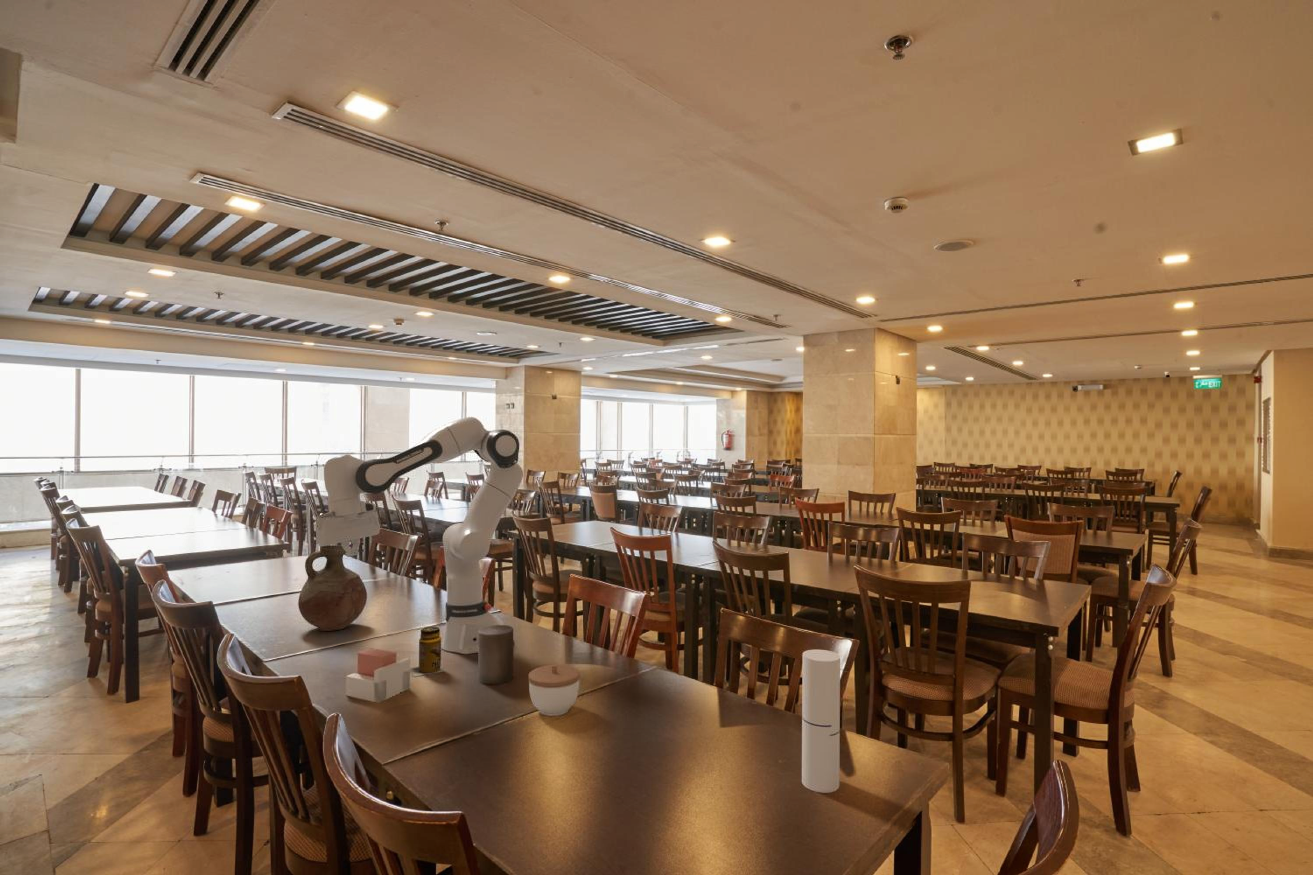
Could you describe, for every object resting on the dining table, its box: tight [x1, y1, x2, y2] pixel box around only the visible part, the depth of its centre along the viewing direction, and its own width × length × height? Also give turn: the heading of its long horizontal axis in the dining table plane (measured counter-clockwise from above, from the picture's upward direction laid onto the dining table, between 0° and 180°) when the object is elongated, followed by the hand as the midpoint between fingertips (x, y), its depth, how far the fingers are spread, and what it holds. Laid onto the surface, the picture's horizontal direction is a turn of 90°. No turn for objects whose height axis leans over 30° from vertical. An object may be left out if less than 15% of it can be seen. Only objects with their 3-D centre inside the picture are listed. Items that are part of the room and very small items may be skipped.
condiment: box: [410, 626, 445, 677], centre depth 191 cm, size 7×8×12 cm
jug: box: [297, 544, 368, 632], centre depth 232 cm, size 22×22×30 cm
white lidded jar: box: [527, 664, 581, 717], centre depth 163 cm, size 13×13×11 cm
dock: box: [345, 657, 411, 704], centre depth 174 cm, size 12×10×8 cm
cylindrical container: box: [801, 649, 841, 794], centre depth 129 cm, size 7×7×25 cm
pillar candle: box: [477, 624, 514, 685], centre depth 185 cm, size 10×10×15 cm
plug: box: [357, 647, 397, 677], centre depth 174 cm, size 9×4×10 cm, turn 65°
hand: (352, 555), depth 196 cm, fingers closed
